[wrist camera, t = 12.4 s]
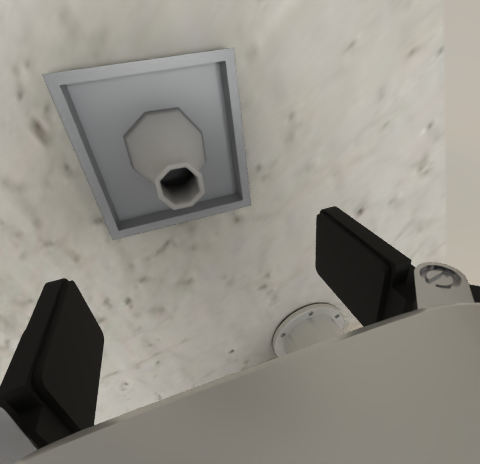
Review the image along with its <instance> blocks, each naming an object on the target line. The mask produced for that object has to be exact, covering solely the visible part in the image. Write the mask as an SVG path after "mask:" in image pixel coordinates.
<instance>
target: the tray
mask: <svg viewBox="0 0 480 464" xmlns="http://www.w3.org/2000/svg"><path fill="white" fill-rule="evenodd" d="M42 75H43V78H44V80H45V82H46V85H47V87H48V89H49V92H50V94H51V96H52V99H53V101H54V104H55V106H56V108H57V111H58V113H59V115H60V118H61V120H62V122H63V125H64V127H65V129H66V132H67V134H68V136H69V139H70V141H71V143H72V146H73V148H74V150H75V153H76V155H77V157H78V160H79V162H80V164H81V167H82V169H83V171H84V174H85V176H86V179H87V181H88V183H89V186H90V188H91V190H92V193H93V195H94V197H95V200H96V202H97V204H98V207H99V209H100V211H101V214H102V216H103V218H104V221H105V223H106V225H107V228H108V230H109V232H110V235H111V237H112V239H113V240H116V239H120V238H123V237H127V236H131V235H135V234H139V233H143V232H147V231H151V230H155V229H159V228H163V227H167V226H171V225H175V224H179V223H183V222H187V221H191V220H195V219H199V218H203V217H207V216H211V215H215V214H219V213H223V212H227V211H231V210H235V209H239V208H242V207H246V206H250V205H251V200H250V191H249V182H248V172H247V163H246V154H245V145H244V136H243V127H242V118H241V108H240V99H239V90H238V81H237V72H236V63H235V54H234V48H227V49H220V50H213V51H206V52H199V53H192V54H185V55H177V56H170V57H163V58H156V59H149V60H142V61H134V62H127V63H120V64H113V65H106V66H99V67H91V68H84V69H77V70H70V71H63V72H56V73H48V74H42ZM177 107H179V108H180V109H181V110H182V112H183V113H184V114H185V115H186V116H187V117H188V118H189V119H190V120H191V121H192V122H193V123H194V124H195V125H196V126H197V127H198V128H199V129H200V130H201V131H202V136H203V143H204V150H205V156H206V162H205V164H204V165H203V166H202V167H201V168H200V170H199V172H200V173H201V174H202V177H203V183H204V189H205V194H204V195H203V196H202V197H201V198H200V199H199V200H198V201H197V202H196V203H195V204H194V205H193V206H191V207H186V208H182V209H177V210H173V209H172V208H170V207H169V206H168V205H166V204H165V203H164V202H162V201H161V200H160V199H159V198H158V194H157V190H156V186H154V185H153V184H152V183H150V182H149V181H148V180H147V179H145V178H144V177H143V176H141V175H140V174H139V173H138V172H136V171H135V170H134V169H133V168H132V165H131V162H130V158H129V155H128V152H127V148H126V145H125V141H124V138H123V136H124V135H125V134H126V133H127V132H128V131H129V129H130V128H131V127H132V126H133V125H134V124H135V123H136V121H137V120H138V119H139V118H140V117H141V116H142V115H143V114H144V112H148V111H155V110H162V109H169V108H177Z"/></svg>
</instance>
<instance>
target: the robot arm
mask: <svg viewBox="0 0 480 464" xmlns="http://www.w3.org/2000/svg"><path fill="white" fill-rule="evenodd" d="M316 270H317V273H318V274H319V276H320V277H321V278H322V279H323V280H324V281H325V282H326V284H327V285H328V286H329V287H330V288H331V289H332V291H333V292H334V293H335V294H336V295H337V296H338V298H339V299H340V300H341V301H342V302H343V303H344V304H345V306H346V307H347V308H348V309H349V310H350V311H351V313H352V314H353V315H354V316H355V317H356V318H357V320H358V321H359V322H360V323H361V324H362V325H363V326H364V327H362V328H359V329H356V330H354V331H351V332H348V333H344V332H343V331H342V330H343V326H344V318H343V315H342V314H341V313H340V311H339V310H338V309H337V308H336V307H334V306H332V305H330V304H313V305H310V306H306V307H304V308H302V309H299V310H298V311H296V312H294V313H293V314H291V315H290V316H289V317H288V318H286V319H285V320H284V321H283V322H282V323H281V325H280V326H279V327H278V329H277V331H276V333H275V335H274V338H273V349H274V351H275V353H276V355H277V357H278V358H275V359H272V360H270V361H267V362H264V363H261V364H259V365H256V366H253V367H250V368H248V369H245V370H242V371H239V372H237V373H234V374H231V375H228V376H226V377H223V378H220V379H217V380H215V381H212V382H209V383H206V384H204V385H201V386H198V387H196V388H193V389H190V390H187V391H185V392H182V393H179V394H177V395H174V396H171V397H168V398H166V399H163V400H160V401H158V402H155V403H152V404H149V405H147V406H144V407H141V408H139V409H136V410H133V411H131V412H128V413H125V414H123V415H120V416H118V417H115V418H112V419H110V420H107V421H105V422H102V423H99V424H97V425H94V419H95V411H96V403H97V395H98V387H99V378H100V370H101V362H102V354H103V346H104V336H103V332H102V330H101V328H100V327H99V325H98V323H97V321H96V319H95V318H94V316H93V314H92V312H91V311H90V309H89V307H88V305H87V303H86V302H85V300H84V298H83V296H82V294H81V293H80V291H79V289H78V287H77V286H76V284H75V282H74V281H68V280H67V279H65V278H63V279H59V280H56V281H52V282H48V283H46V284H45V285H44V288H43V290H42V293H41V295H40V297H39V300H38V302H37V304H36V307H35V309H34V311H33V314H32V316H31V319H30V321H29V323H28V326H27V328H26V330H25V331H24V333H23V335H22V337H21V339H20V342H19V344H18V346H17V349H16V351H15V353H14V356H13V358H12V360H11V363H10V365H9V367H8V370H7V372H6V374H5V377H4V379H3V381H2V384H1V386H0V464H480V286H475V285H470V284H469V283H468V280H467V279H466V277H465V275H464V274H463V273H461V272H460V271H459V270H457V269H455V268H454V267H451V266H449V265H446V264H442V263H437V262H427V263H422V264H420V265H418V266H417V267H414V266H413V265H411V260H410V259H409V258H408V257H406V256H405V255H403V254H402V253H401V252H399V251H398V250H396V249H395V248H394V247H392V246H391V245H389V244H388V243H387V242H385V241H384V240H382V239H381V238H380V237H378V236H377V235H375V234H374V233H373V232H371V231H370V230H368V229H367V228H366V227H364V226H363V225H361V224H360V223H359V222H357V221H356V220H354V219H353V218H352V217H350V216H349V215H347V214H346V213H344V212H343V211H342V210H340V209H339V208H337V207H336V206H334V207H330V208H326V209H322V210H321V211H320V214H318V215H317V220H316Z"/></svg>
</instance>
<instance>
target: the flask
mask: <svg viewBox="0 0 480 464" xmlns="http://www.w3.org/2000/svg"><path fill="white" fill-rule="evenodd" d="M123 138H124V141H125V145H126V148H127V152H128V155H129V158H130V162H131V165H132V168H133V169H134V170H135V171H136V172H138V173H139V174H140V175H141V176H143V177H144V178H145V179H147V180H148V181H149V182H150V183H152V184H153V185H154V186H156V190H157V194H158V198H159V199H160V200H161V201H162V202H164V203H165V204H166V205H168V206H169V207H170V208H172V209H173V210H177V209H182V208H186V207H191V206H193V205H194V204H195V203H196V202H197V201H198V200H199V199H200V198H201V197H202V196H203V195H204V194H205V189H204V183H203V177H202V174H201V173H200V172H199V170H200V168H201V167H202V166H203V165H204V164H205V162H206V156H205V150H204V143H203V136H202V131H201V130H200V129H199V128H198V127H197V126H196V125H195V124H194V123H193V122H192V121H191V120H190V119H189V118H188V117H187V116H186V115H185V114H184V113H183V112H182V110H181V109H180V108H179V107H177V108H169V109H162V110H155V111H148V112H144V114H143V115H142V116H141V117H140V118H139V119H138V120H137V121H136V123H135V124H134V125H133V126H132V127H131V128H130V129H129V131H128V132H127V133H126V134H125V135H124V136H123Z"/></svg>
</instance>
